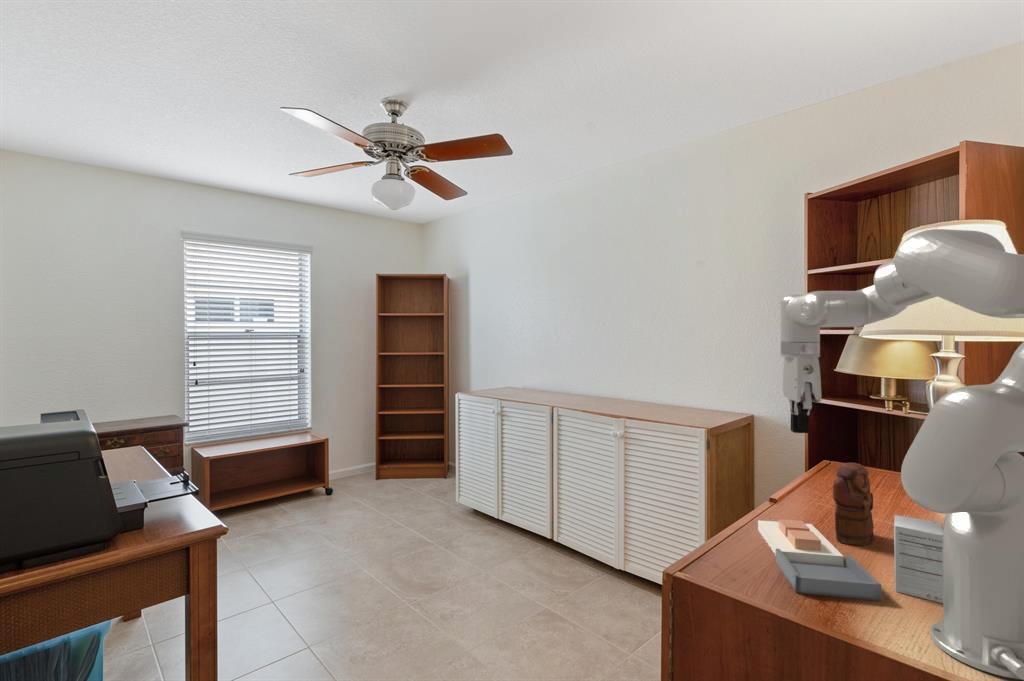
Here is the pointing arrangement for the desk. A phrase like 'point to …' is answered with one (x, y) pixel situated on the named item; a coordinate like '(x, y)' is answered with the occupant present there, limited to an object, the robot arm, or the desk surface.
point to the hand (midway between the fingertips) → (799, 432)
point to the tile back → (791, 526)
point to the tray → (830, 579)
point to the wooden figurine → (853, 505)
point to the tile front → (804, 540)
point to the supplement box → (918, 557)
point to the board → (779, 541)
